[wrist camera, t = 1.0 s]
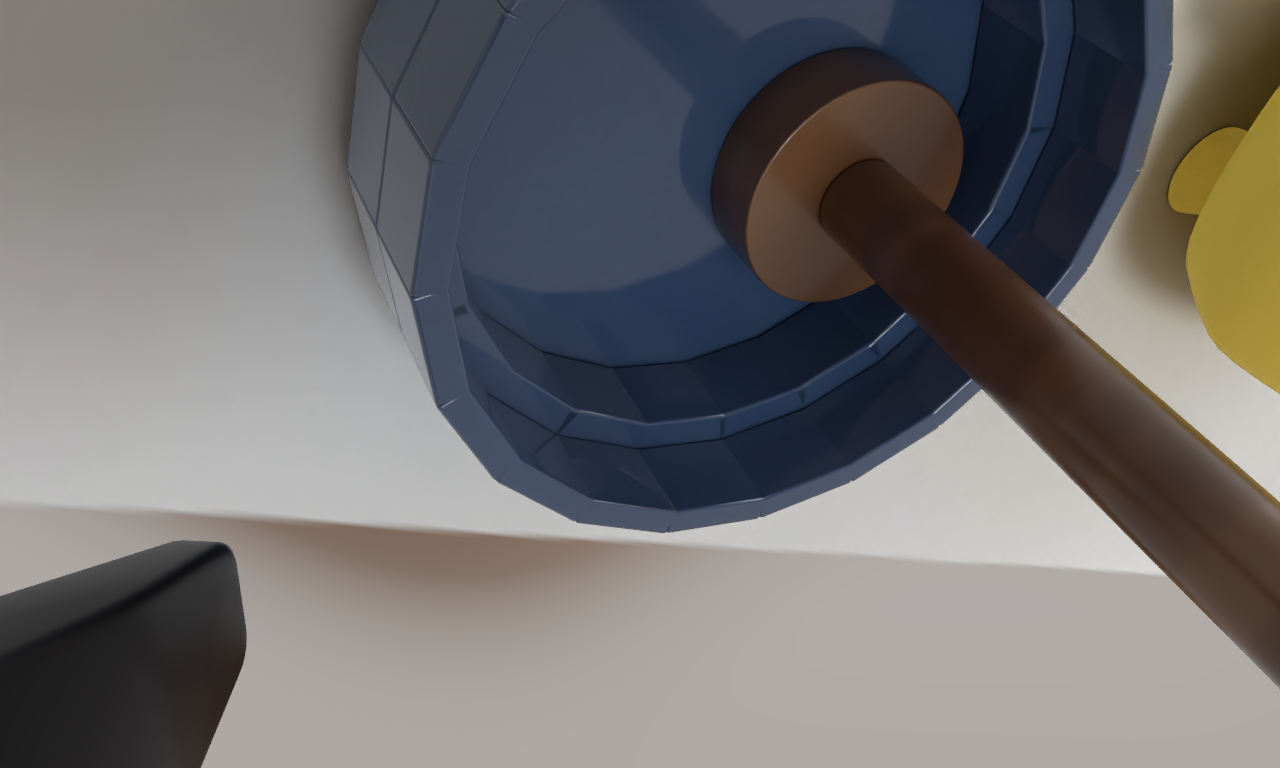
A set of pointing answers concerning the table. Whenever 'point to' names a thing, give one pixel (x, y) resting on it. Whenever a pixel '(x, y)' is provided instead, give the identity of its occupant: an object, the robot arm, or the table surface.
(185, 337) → the table surface
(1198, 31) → the table surface
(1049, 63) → the bowl
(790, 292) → the brown plunger
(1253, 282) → the teapot
